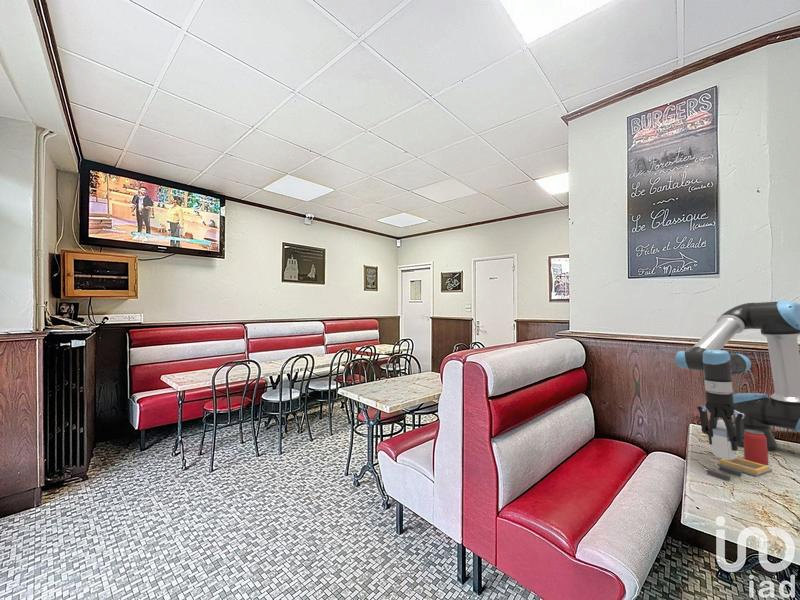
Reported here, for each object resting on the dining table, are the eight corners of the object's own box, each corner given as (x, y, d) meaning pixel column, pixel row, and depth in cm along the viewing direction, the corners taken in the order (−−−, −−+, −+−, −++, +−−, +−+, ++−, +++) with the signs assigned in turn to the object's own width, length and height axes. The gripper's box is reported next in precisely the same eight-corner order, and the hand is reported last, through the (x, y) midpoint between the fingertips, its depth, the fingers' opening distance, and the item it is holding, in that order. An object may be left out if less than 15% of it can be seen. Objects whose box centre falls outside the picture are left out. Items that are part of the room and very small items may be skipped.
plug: (720, 454, 128) (718, 427, 129) (734, 458, 125) (732, 430, 125) (714, 456, 127) (712, 429, 127) (728, 460, 123) (726, 432, 124)
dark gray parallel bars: (721, 469, 130) (720, 465, 130) (742, 476, 124) (741, 471, 124) (707, 474, 126) (707, 469, 126) (728, 480, 120) (727, 476, 120)
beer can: (773, 466, 132) (770, 434, 133) (753, 464, 134) (750, 433, 134) (759, 459, 139) (757, 429, 140) (740, 458, 140) (738, 428, 141)
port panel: (733, 460, 138) (733, 455, 138) (771, 471, 128) (771, 465, 128) (717, 465, 133) (717, 460, 133) (755, 477, 123) (755, 471, 123)
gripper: (686, 389, 133) (690, 450, 132) (743, 397, 118) (749, 467, 116) (697, 387, 136) (701, 447, 135) (754, 395, 121) (760, 463, 119)
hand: (724, 456), depth 126 cm, fingers closed on plug, 4 cm apart
